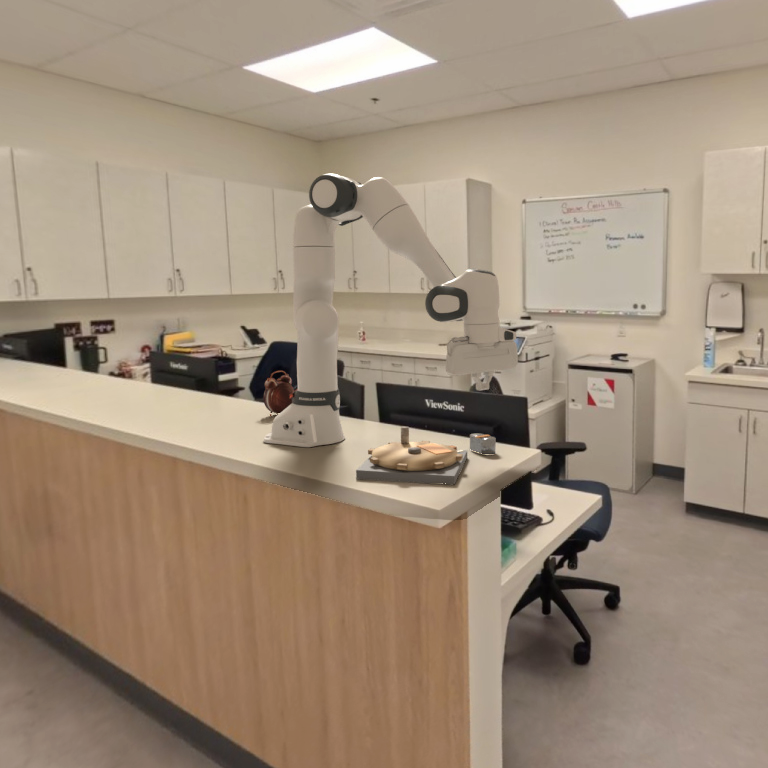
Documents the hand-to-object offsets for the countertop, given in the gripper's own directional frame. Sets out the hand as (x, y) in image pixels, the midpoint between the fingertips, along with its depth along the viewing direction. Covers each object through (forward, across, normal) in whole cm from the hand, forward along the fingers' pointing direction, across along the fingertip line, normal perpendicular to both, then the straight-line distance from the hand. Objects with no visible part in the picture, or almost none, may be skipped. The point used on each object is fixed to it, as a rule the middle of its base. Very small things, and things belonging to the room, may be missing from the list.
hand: (482, 389), depth 161 cm
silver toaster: (+16, 0, 0) cm, 16 cm away
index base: (+16, -22, -3) cm, 27 cm away
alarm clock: (+15, -28, +74) cm, 81 cm away
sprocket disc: (+13, -22, -3) cm, 26 cm away
